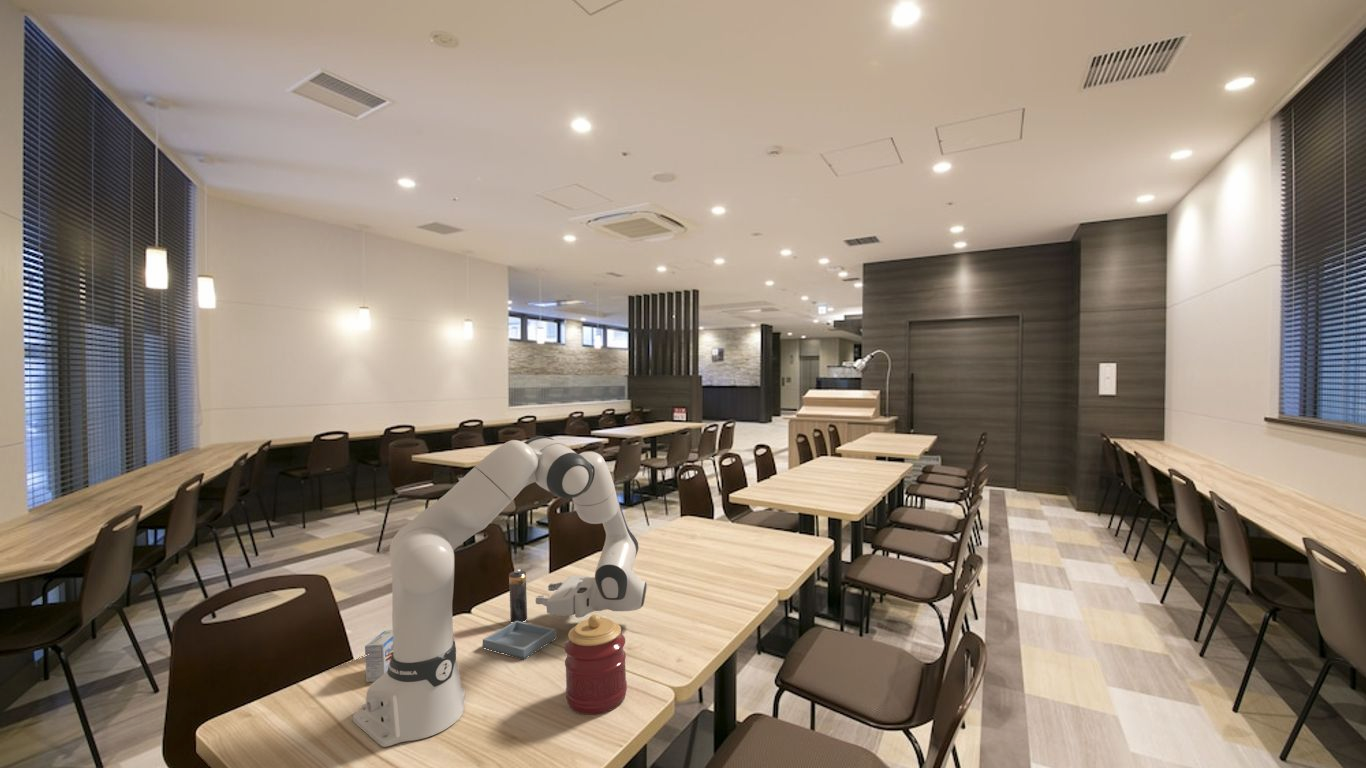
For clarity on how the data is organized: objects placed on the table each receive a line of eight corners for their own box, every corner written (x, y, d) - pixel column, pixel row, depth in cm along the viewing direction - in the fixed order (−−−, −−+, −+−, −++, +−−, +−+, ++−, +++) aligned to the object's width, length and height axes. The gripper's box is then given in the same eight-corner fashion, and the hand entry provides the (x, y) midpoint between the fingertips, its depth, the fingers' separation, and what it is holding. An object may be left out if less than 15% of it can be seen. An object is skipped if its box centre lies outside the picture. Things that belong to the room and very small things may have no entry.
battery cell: (507, 623, 152) (505, 571, 152) (518, 617, 156) (517, 566, 156) (519, 626, 150) (517, 573, 150) (530, 619, 154) (529, 568, 154)
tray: (483, 649, 137) (482, 639, 137) (516, 629, 148) (516, 620, 148) (524, 660, 131) (523, 649, 131) (556, 638, 142) (555, 629, 142)
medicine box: (384, 682, 123) (383, 645, 123) (365, 682, 123) (364, 645, 123) (402, 664, 131) (401, 629, 131) (384, 665, 131) (383, 629, 131)
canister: (591, 675, 123) (589, 599, 123) (638, 689, 117) (636, 609, 117) (553, 706, 111) (550, 622, 111) (602, 723, 105) (599, 634, 105)
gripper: (599, 570, 161) (555, 569, 162) (578, 596, 140) (528, 595, 142) (600, 590, 161) (556, 590, 162) (579, 620, 140) (529, 619, 142)
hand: (543, 593), depth 152 cm, fingers open, 8 cm apart
